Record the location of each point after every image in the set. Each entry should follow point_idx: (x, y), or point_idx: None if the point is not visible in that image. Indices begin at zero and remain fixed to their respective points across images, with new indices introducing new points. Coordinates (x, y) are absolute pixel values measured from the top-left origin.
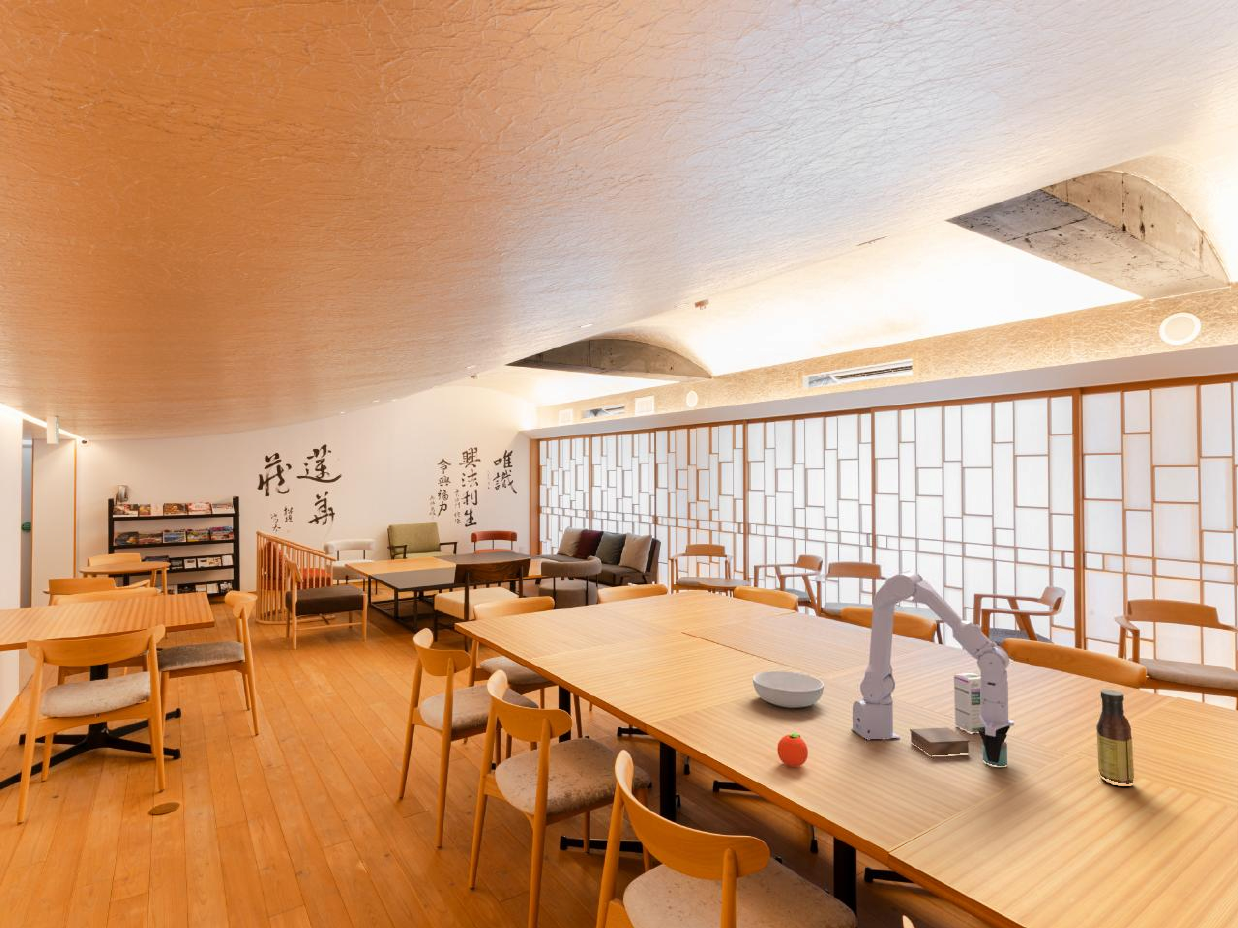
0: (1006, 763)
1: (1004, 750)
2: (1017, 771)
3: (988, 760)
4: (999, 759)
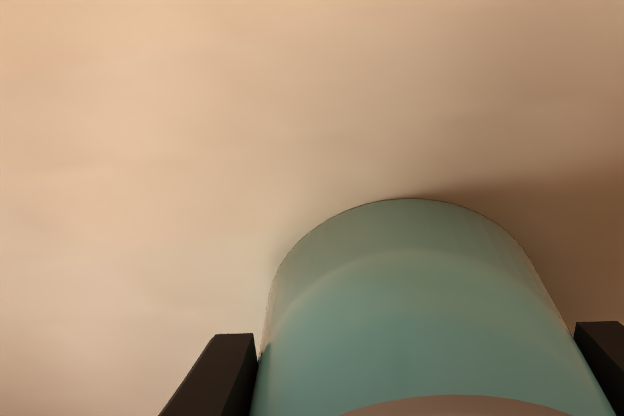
0: (446, 225)
1: (572, 400)
2: (516, 57)
3: None
4: (571, 335)
